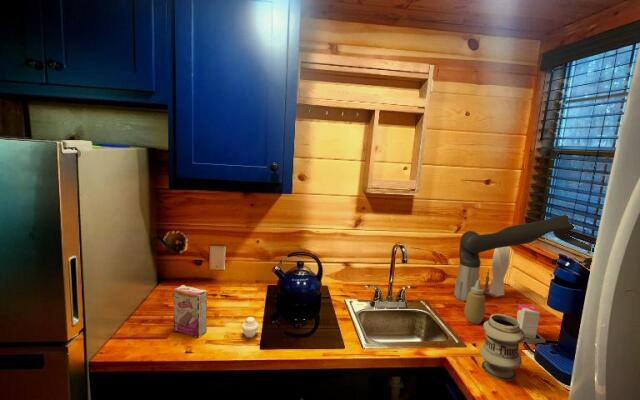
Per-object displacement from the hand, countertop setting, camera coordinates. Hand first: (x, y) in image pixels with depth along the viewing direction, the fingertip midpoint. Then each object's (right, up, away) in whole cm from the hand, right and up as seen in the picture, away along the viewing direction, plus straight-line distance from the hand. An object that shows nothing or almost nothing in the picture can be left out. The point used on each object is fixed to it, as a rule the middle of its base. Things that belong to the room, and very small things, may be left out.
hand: (558, 265), depth 136 cm
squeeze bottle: (-30, -26, +9) cm, 40 cm away
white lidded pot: (-121, -24, -11) cm, 124 cm away
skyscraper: (-5, -23, +39) cm, 45 cm away
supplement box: (-14, -28, -1) cm, 31 cm away
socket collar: (-14, -28, -1) cm, 31 cm away
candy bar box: (-143, -23, -11) cm, 145 cm away
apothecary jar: (-37, -30, -24) cm, 53 cm away
